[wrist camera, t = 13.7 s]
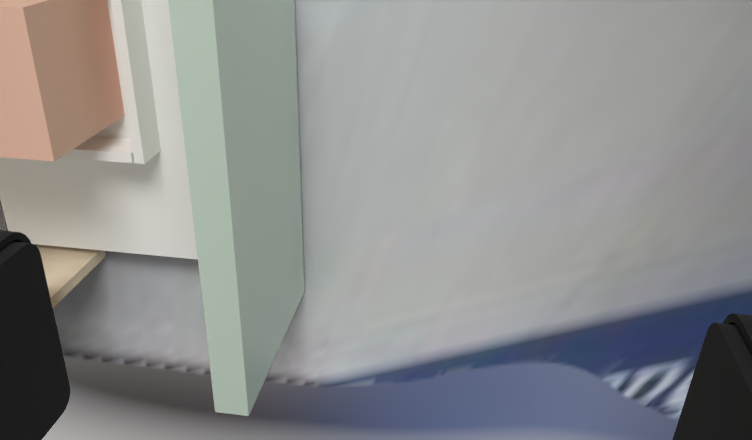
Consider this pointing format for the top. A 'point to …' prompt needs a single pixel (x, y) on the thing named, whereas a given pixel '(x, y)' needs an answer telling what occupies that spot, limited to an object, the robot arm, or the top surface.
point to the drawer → (192, 172)
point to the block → (55, 76)
